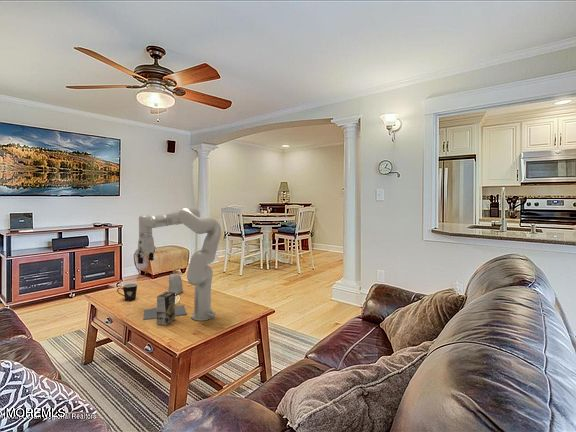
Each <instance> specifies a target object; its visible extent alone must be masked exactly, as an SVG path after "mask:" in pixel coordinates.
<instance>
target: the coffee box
mask: <svg viewBox="0 0 576 432" xmlns="http://www.w3.org/2000/svg"><path fill="white" fill-rule="evenodd" d="M175 306H176V295H175V293H173V292H169V291H165V292H163V293H161V294H159V295H157V296H156V308H157V318H156V325H163V326H168V324H170V323H171V322H173V321H174V320H175V319H176V316H175Z"/></svg>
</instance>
